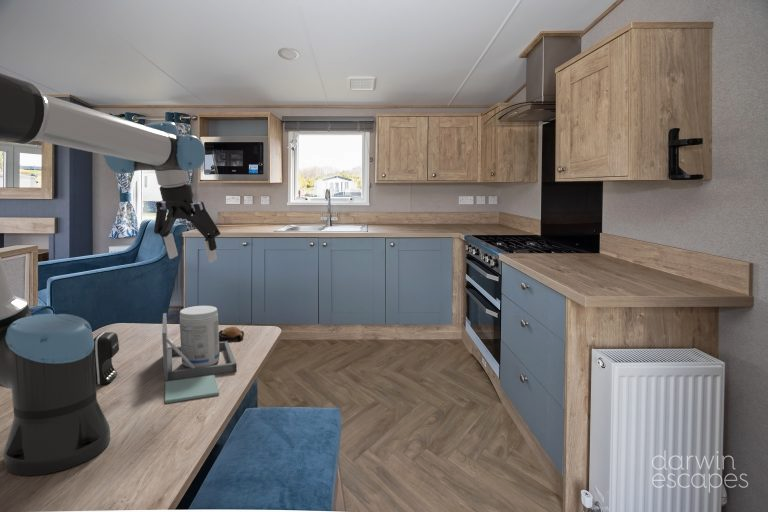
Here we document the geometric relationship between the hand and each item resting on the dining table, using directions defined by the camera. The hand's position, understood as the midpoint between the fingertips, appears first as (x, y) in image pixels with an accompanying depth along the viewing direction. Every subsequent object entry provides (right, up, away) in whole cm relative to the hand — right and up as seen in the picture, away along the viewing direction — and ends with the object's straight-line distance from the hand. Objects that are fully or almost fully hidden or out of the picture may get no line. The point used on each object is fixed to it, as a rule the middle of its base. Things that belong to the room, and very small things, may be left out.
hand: (193, 259), depth 126 cm
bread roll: (+4, -26, +19) cm, 32 cm away
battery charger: (-14, -29, -16) cm, 36 cm away
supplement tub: (+3, -28, -3) cm, 29 cm away
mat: (+8, -30, -20) cm, 37 cm away
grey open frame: (+3, -28, -3) cm, 28 cm away
